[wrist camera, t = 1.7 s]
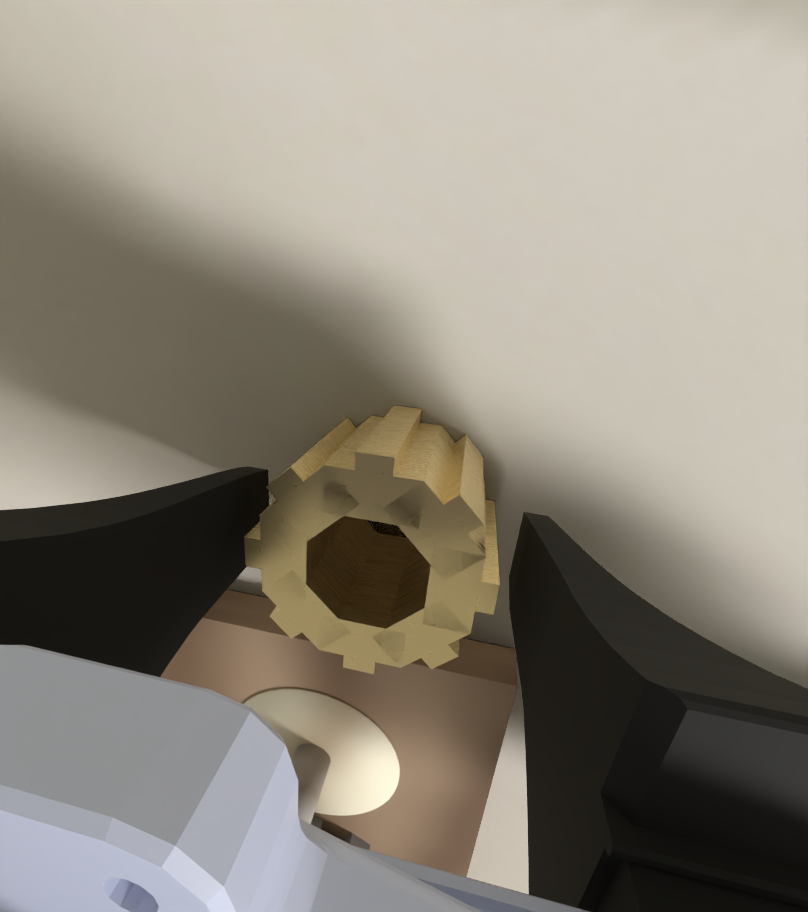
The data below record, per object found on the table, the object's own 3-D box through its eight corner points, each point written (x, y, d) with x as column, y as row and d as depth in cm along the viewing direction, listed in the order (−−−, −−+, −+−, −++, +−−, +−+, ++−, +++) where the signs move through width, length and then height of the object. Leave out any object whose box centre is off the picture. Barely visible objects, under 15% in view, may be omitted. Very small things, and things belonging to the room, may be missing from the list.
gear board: (513, 648, 14) (531, 841, 9) (439, 942, 22) (426, 1140, 16) (168, 577, 16) (22, 707, 11) (207, 872, 23) (130, 1033, 18)
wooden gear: (510, 421, 12) (523, 477, 8) (476, 590, 14) (475, 697, 10) (311, 393, 12) (238, 433, 9) (309, 558, 14) (249, 646, 11)
